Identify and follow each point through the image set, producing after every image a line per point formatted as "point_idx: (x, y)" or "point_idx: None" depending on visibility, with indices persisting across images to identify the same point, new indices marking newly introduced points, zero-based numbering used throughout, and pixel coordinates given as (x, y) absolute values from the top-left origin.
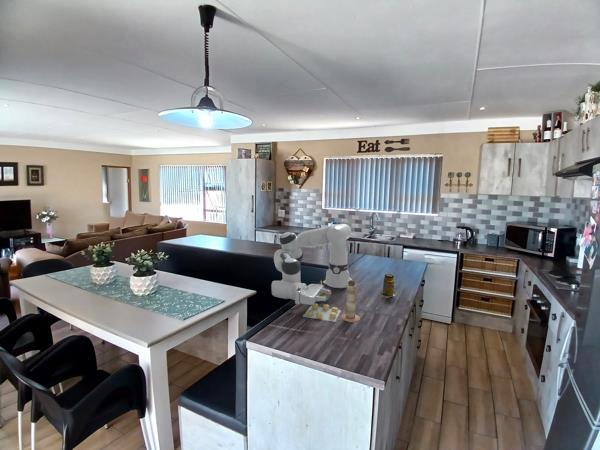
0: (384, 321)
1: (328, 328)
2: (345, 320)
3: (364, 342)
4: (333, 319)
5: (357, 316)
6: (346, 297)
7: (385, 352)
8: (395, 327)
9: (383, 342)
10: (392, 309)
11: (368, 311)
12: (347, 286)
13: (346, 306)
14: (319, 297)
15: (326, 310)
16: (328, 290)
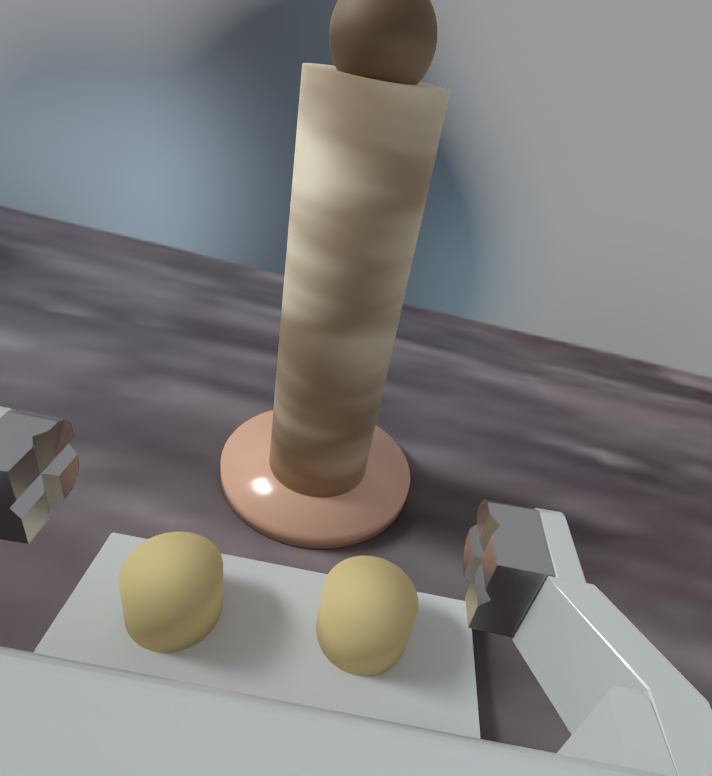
0: None
1: None
2: (401, 504)
3: (659, 438)
4: (415, 621)
5: None
6: (375, 285)
7: (680, 380)
8: None
9: (585, 370)
10: (116, 267)
11: (138, 354)
12: (425, 100)
13: (362, 389)
14: (646, 654)
15: None
16: (1, 430)
